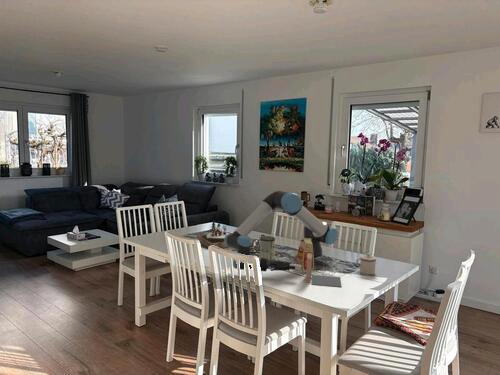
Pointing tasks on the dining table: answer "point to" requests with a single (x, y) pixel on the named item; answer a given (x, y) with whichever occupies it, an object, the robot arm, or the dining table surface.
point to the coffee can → (267, 247)
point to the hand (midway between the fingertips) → (301, 267)
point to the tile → (309, 268)
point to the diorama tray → (207, 243)
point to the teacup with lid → (367, 264)
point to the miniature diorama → (216, 234)
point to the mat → (326, 281)
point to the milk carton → (304, 253)
